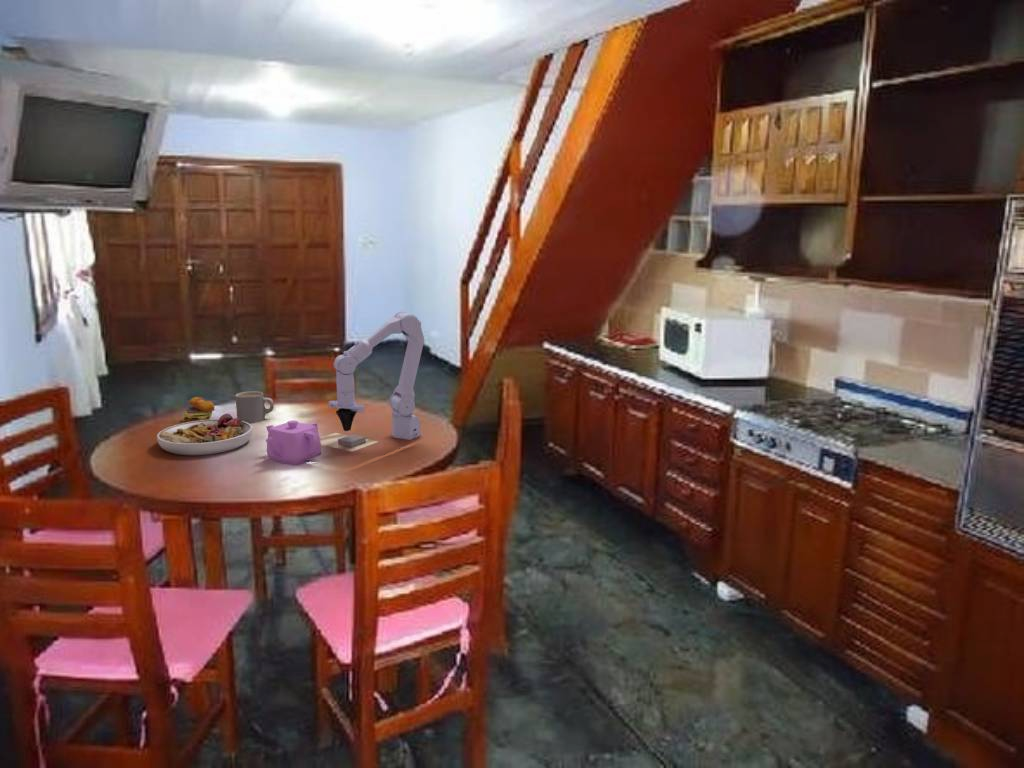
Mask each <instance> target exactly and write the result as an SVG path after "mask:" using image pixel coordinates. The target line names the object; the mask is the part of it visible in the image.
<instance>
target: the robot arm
mask: <svg viewBox="0 0 1024 768" xmlns="http://www.w3.org/2000/svg"><path fill="white" fill-rule="evenodd" d="M397 334H398V335H399V334H402V335H403V336H404V337H405V339H406V340H407V345H406V349H405V355H404V357H403V358H404V359H403V362H402V367H401V371H400V375H399V381H398V384H397V386H395V388H394V391H393V393H392V395H391V396H390V397H389V401H388V403H389V404H388V405H389V406H390V408H391V409H392V411H391V425H392V432H391V433H392V434H391V435H392V437H393V438H396V439H402V440H403V439H404V440H408V441H409V440H410V441H411V440H413V439H416V438H419V437H421V421H420V419H419V417H418V416H416V415H414V414H413V413H414V411H415V408H416V404H415V396H416V395H415V391H414V386H415V382H416V379H417V378H416V377H417V374H418V369H419V364H420V362H421V361H420V360H421V356H422V351H423V349H424V348H423V347H424V343H425V335H424V333H423V329H422V322H421V320H419V318H418V317H417V316H415V315H414V314H409V313H406V312H404V311H400V312H399V311H398V312H396V313H395V314H394V315H393V316H391V317H389V318H388V319H387V321H386V322H385V323H384V324H383V325H380V327H379V328H378V329H377V330H375V332H374V333H372V335H370V336H369V337H368V338H367V339H365V340H364V339H360V340H359V341H358V340H356V341H355V342H354V345H353V346H352V347H350V348H349V349H348V350H345V351H343V354H340V355H337V356H336V358H334V362H333V363H332V364H333V365H332V366H333V368H334V369H335V371H336V372H335V374H336V375H335V378H336V379H335V380H336V400H330V401H328V407H329V408H336V409H338V410H336V411H335V414H336V415H337V417H338V419H339V420H340V423H341V426H342V429H343V431H344V432H349V431H351V430H352V426H353V421H354V418H355V416H356V415H357V413H360V414H362V413H365V405H361V404H359V403H356V398H355V396H356V395H355V377H354V372H355V370H356V368H357V366H358V365H359V364H361V363H362V362H363V361H364V360H366V359H367V358H368V357H369V356H370V355H371V354H373V348H374V347H376V346H378V345H379V344H381V342H382V341H384V340H386V339H387V338H388V337H390V336H391V335H397Z"/></svg>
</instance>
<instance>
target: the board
mask: <svg viewBox="0 0 1024 768" xmlns="http://www.w3.org/2000/svg"><path fill="white" fill-rule="evenodd" d="M346 436H349V435H347V434H343V433H340V432H339V433H338V432H333V433H331V434H328V435H324V436H321V437H320V442H321V446H324V447H329V448H333V449H338V450H343V451H348V452H351V453H352V452H355V451H358V450H360V449H364V448H366V447H369V446H371V445H373V444H376V443H378V441H377V440H372V439H367V438H366V442H365V443H362V444H359V445H357V446H354V447H347V446H343V445H339V444H338V439H340V438H343V437H346Z"/></svg>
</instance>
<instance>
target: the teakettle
mask: <svg viewBox="0 0 1024 768" xmlns="http://www.w3.org/2000/svg"><path fill="white" fill-rule="evenodd" d="M265 427H266V431H267V433H268V434H267V439H265V442H266V455H267V457H268V460H270V461H272V462H275V463H279V464H282V465H287V466H289V465H290V466H300V465H303V464H307V463H310V462H311V461H312V460H311V458H314V457H317V456H319V455H321V454H322V445H321V442H320V438H321V437H320V434H319V427H318V423H317V422H313V421H312V422H308V423H305V422H299V421H298V420H288V421H286V422H285V423H280V424H277V425H275V426H274V425H273V424H272V425H267V426H265Z"/></svg>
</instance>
